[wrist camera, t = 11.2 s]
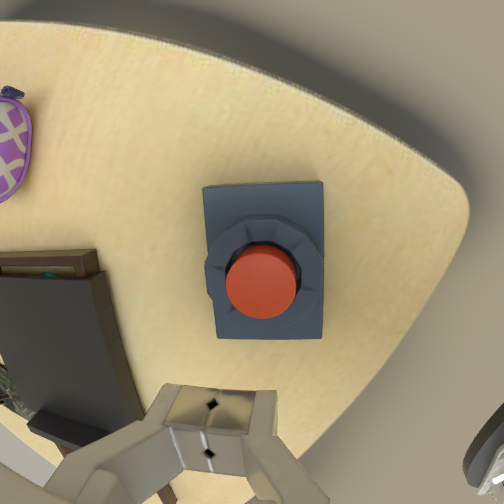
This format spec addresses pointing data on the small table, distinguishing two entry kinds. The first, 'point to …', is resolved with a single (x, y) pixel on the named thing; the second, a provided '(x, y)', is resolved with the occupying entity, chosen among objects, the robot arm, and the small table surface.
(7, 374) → the eiffel tower figurine
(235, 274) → the button
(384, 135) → the small table surface
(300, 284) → the button block
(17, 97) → the pencil case
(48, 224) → the small table surface
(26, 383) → the lid
